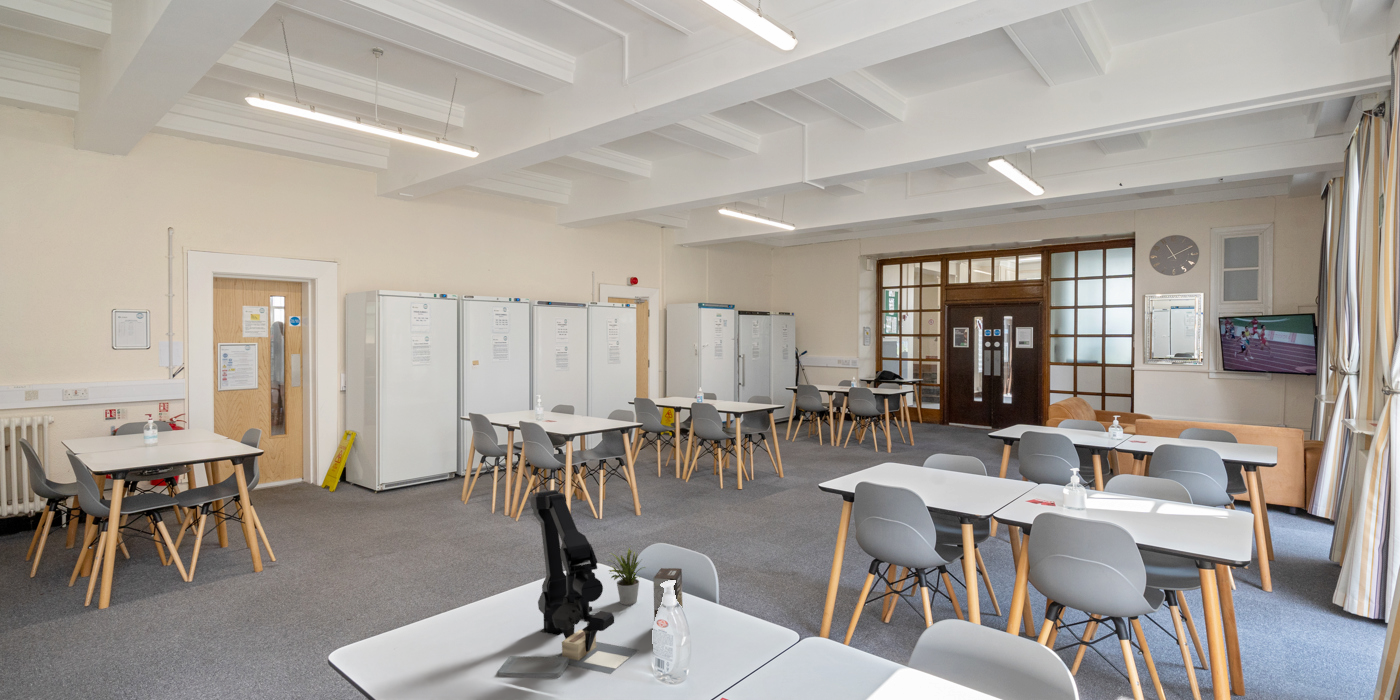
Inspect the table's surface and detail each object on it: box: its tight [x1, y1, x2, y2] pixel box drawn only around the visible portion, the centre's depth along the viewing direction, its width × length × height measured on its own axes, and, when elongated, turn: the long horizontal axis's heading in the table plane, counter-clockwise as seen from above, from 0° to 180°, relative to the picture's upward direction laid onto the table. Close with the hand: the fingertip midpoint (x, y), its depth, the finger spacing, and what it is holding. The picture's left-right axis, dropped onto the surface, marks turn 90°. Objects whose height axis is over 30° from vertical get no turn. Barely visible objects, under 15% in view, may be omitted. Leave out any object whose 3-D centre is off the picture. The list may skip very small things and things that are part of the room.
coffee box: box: [653, 567, 684, 621], centre depth 190 cm, size 9×6×16 cm
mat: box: [556, 641, 640, 675], centre depth 174 cm, size 18×14×1 cm
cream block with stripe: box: [561, 629, 597, 660], centre depth 176 cm, size 8×5×4 cm, turn 155°
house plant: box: [608, 547, 647, 606], centre depth 213 cm, size 14×14×16 cm
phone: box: [496, 655, 569, 679], centre depth 168 cm, size 8×16×1 cm, turn 83°
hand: (579, 649), depth 176 cm, fingers closed on cream block with stripe, 5 cm apart
